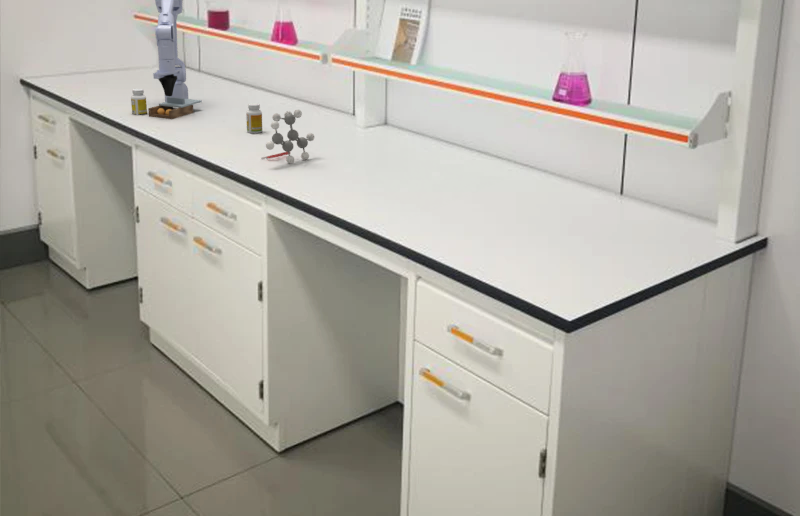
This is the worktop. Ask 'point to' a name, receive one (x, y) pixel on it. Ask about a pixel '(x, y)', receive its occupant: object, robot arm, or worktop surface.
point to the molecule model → (291, 135)
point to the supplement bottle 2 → (254, 118)
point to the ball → (161, 111)
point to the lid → (179, 102)
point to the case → (172, 113)
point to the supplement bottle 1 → (138, 102)
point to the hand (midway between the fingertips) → (168, 95)
